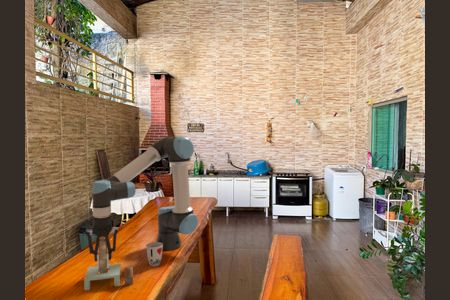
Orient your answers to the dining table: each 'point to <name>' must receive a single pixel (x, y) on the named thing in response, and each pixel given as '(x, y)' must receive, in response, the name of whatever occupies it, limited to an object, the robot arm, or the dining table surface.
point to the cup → (154, 253)
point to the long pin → (103, 256)
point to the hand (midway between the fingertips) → (103, 267)
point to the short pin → (128, 276)
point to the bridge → (102, 275)
